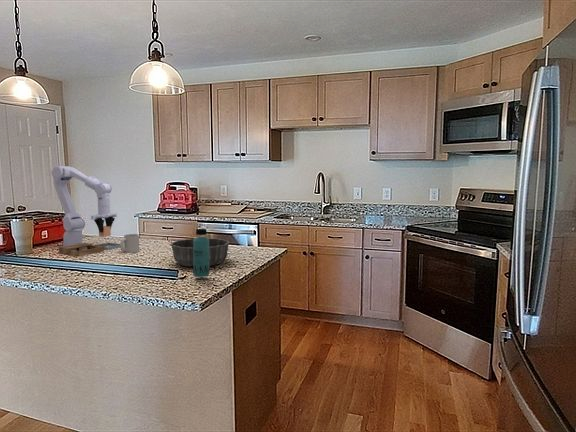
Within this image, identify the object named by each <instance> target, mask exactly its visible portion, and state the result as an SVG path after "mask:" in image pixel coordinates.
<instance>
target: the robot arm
mask: <svg viewBox="0 0 576 432" xmlns="http://www.w3.org/2000/svg"><path fill="white" fill-rule="evenodd" d="M51 176H52V178H53V186H54V188H55V190H56V195H57V197H58V199H59V202H60V205H61V206H62V209H63V212H64V213H63V214H64V217H62V222H63V223H62V226H63V229H64V230H65V231H64V233H63V236H62V237H63V238H62V239H63V246H69V245H75V244H80V243H84V241H83V238H84V237H83V230H84V228H85V226H86V221H85V220H84V218H83V217H82V215H81V214H80V213H78V212H77V210H76V208H75V205H74V202H73V199H72V197H71V193H70V192H69V188H68V186H67V185H68V183H69V182H70V181H71V180H72V178H75V179H77V180H79V181H81V182H83V183H84V185H85V187H87V188H90V189H92V190H93V191H94V192H95V194H96V197H97V211H98V213H97V214H94V215H90V220H93V221H94V223H95V224H96V226H97V230H98V233H99V232H101V233H102V232H103V226H110V228H111V229H112V226H113V224H114V222H115V219H116V218H118V213H117V212H113V213H111V207H110V206H111V201H110V198H111V197H110V193H112V189H113V188H112V185H111V184H110V183H109V182H104V181H102V180H99V179H98V178H96V176H95V175H92V176H87V175H86V174H84V173H83V172H82V171H80V170H78V169H77V168H75V167H73V166H71V165H70V166H69V165H67V166H66V165H65V166H64V165H56V166H54V167H53V169H52V170H51ZM104 222H105V225H104ZM63 246H61V247H63Z"/></svg>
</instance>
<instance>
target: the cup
mask: <svg viewBox="0 0 576 432" xmlns="http://www.w3.org/2000/svg"><path fill="white" fill-rule="evenodd" d="M119 244H120V247H121V248H120V250H122V252H124V253H130V254H139V252H140V235H139V234H137V233H131V234H129V233H128V234H124V235H123V238H121V240H120V243H119Z"/></svg>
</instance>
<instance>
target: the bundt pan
mask: <svg viewBox="0 0 576 432" xmlns="http://www.w3.org/2000/svg"><path fill="white" fill-rule="evenodd" d="M195 238H196V237H194V238H186V239H178V240H175V241H173V242H172V241H171V243H170V246H171V249H172V255H173V259H174V261H175V262H176V263H177V264H179V265H180V266H182V267H190V268H191V267H193V240H194V239H195ZM207 238H208V237H207ZM208 239H209V257H210V263H209V267H213V266H214V265H216V266H217V265H219V264H221V263H223V262H224V261H226V259H227V257H228V251H229V245H230V241H229V240H225V239H222V238H221V239H220V238H208Z"/></svg>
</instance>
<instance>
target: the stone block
mask: <svg viewBox="0 0 576 432" xmlns="http://www.w3.org/2000/svg"><path fill="white" fill-rule="evenodd" d="M111 229H112V227H111V228H110V226H106V225H103V232H102V233H101V232H99V231H98V237H105V238H106V237H111V235H112V233H111V231H112V230H111Z"/></svg>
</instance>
